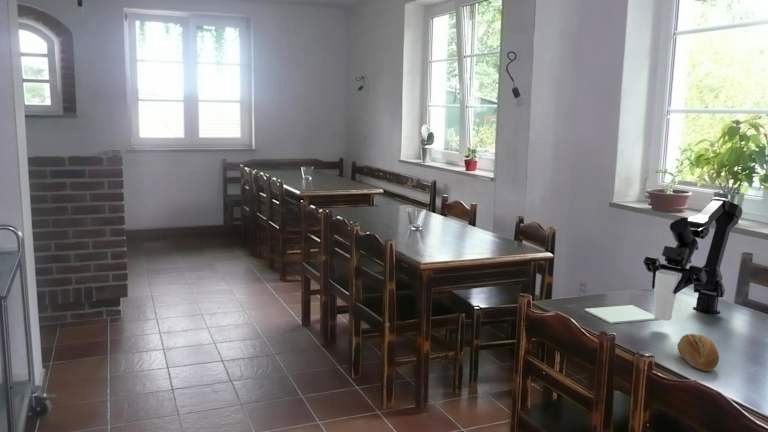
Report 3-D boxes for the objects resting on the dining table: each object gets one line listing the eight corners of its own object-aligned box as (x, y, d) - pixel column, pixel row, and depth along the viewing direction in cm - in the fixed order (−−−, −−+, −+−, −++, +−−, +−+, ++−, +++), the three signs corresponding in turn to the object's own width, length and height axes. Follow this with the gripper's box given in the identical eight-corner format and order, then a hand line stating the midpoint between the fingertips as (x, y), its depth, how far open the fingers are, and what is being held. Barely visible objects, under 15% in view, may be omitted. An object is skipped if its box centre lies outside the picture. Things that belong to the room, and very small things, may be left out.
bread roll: (688, 373, 175) (692, 345, 174) (669, 352, 190) (672, 326, 188) (725, 376, 174) (729, 347, 173) (703, 354, 189) (706, 328, 188)
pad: (631, 306, 232) (631, 305, 232) (660, 319, 219) (660, 317, 219) (584, 310, 226) (584, 308, 226) (610, 323, 213) (610, 322, 213)
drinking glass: (671, 315, 211) (676, 271, 208) (676, 322, 204) (681, 276, 202) (649, 313, 212) (654, 269, 209) (653, 320, 206) (658, 274, 203)
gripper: (648, 231, 213) (628, 269, 208) (707, 242, 199) (686, 283, 194) (658, 252, 220) (638, 289, 214) (715, 263, 206) (695, 303, 201)
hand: (663, 290), depth 206 cm, fingers closed on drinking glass, 7 cm apart
